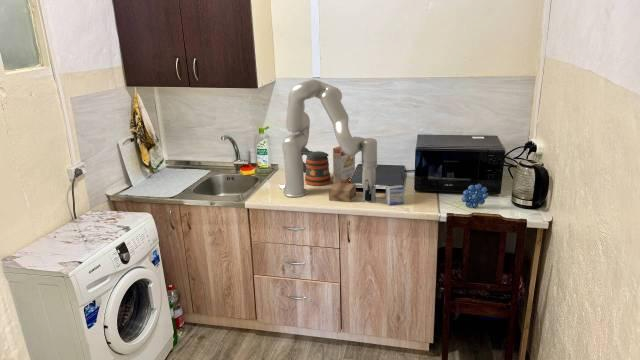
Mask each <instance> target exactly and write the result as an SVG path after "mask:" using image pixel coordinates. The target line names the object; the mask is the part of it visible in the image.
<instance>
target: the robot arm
mask: <svg viewBox="0 0 640 360" xmlns="http://www.w3.org/2000/svg"><path fill="white" fill-rule="evenodd" d="M313 98H317V99H319V100H320V103H321V105H322V107H323V108H324V111H325V112H326V114H327V116H328V118H329V120H330V121H331V123H332V128H333V131H334V135H335V138H336V140H337V143H338V146H340V147H341V149H342V150H343V152H344V153H345V154H346V155H348V156H354V155H355V156H356V155H358V153H360V152H361V168H362V172H361V173H362V174H361V176H362V177H361V178H362V179H361V187H362V188H364V187H365V201H371V187H372V186H375V184H376V178H377V177H376V175H377V173H376V168H378V141H377V139H375V138H373V137H366V138H364V137H360V136H352V134H351V131H350V129H349V128H350V127H349V120H350V118H349V114H348V113H347V111H346V109H345V107H344V105H343V104H342V99H343V94H342V91H341V90H340V88H338V87H336V86H333V85H332V84H328V83H325V82H323V81H320V80H318V79H309V80H306V81H302V82H299V83H298V84H295V85H294V86H292V88H291V89H289V93H288V97H287V107H286V108H287V109H286V119H285V126H286V130H287V131H288V132H289V133H291V134H289V135H287V136H286V137H284V138H283V141H282V143H281V147H282V148H281V149H282V152H283V161H284V172H285V173H284V175H285V184H279V190H283V195H284V196H285V197H288V198H300V197H303V196H306V195H307V194H308V189H307V188H305V173H304V172H303V162H304V159H303V156H302V154H301V149H303V148H304V147H306V146H307V145H308V143H309V136H310V129H311V128H310V126H311V121H310V117H309V114H308V113H307V112H306V111H305V108H306V107H305V106H306V105H305V102H306V100H309V99H313ZM368 186H370V187H368ZM368 188H369V189H368ZM365 201H364V202H365Z"/></svg>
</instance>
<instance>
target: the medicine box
mask: <svg viewBox="0 0 640 360" xmlns="http://www.w3.org/2000/svg"><path fill="white" fill-rule="evenodd" d="M385 203H386V204H387V205H388V206H394V205H402V204H404V203H405V186H404V185H402V184H396V185H389V186H387V185H386V186H385Z"/></svg>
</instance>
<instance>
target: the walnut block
mask: <svg viewBox="0 0 640 360" xmlns="http://www.w3.org/2000/svg"><path fill="white" fill-rule="evenodd" d="M356 188H357V184H356V183H350V182H349V183H337V182H335V183H334V184H331V186H330V187H329V188H328V201H329V202H330V201H331V202H341V203H342V202H343V203H351V202H352V201H353V199H354V198H355V197H356V194H357V190H356Z"/></svg>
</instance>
